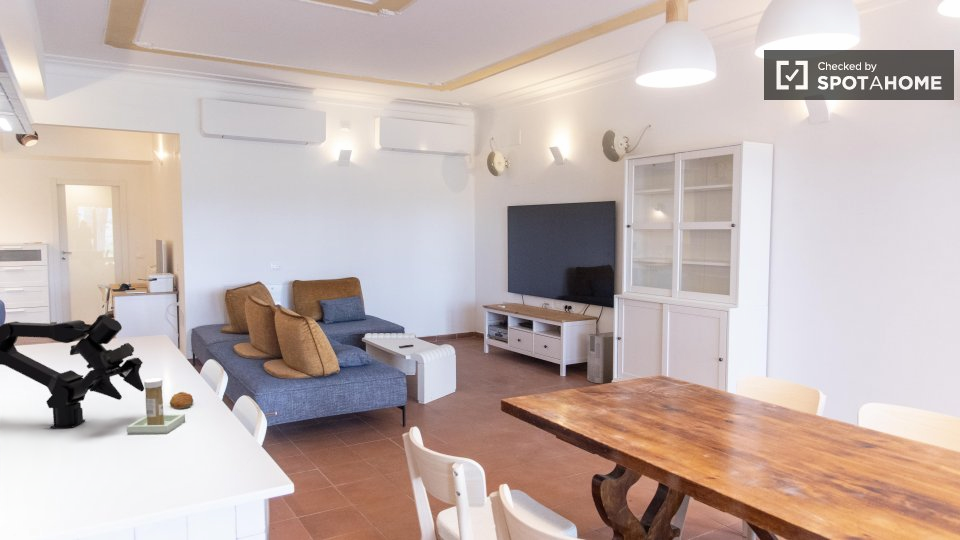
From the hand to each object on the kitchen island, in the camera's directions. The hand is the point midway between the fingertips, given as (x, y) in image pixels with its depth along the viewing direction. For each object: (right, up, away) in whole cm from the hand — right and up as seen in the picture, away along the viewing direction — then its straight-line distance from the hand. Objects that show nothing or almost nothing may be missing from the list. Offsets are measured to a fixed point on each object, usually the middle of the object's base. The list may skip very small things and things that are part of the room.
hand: (132, 394), depth 185 cm
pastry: (+4, -8, +23) cm, 25 cm away
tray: (+7, -9, -1) cm, 12 cm away
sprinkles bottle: (+7, -9, -1) cm, 12 cm away
